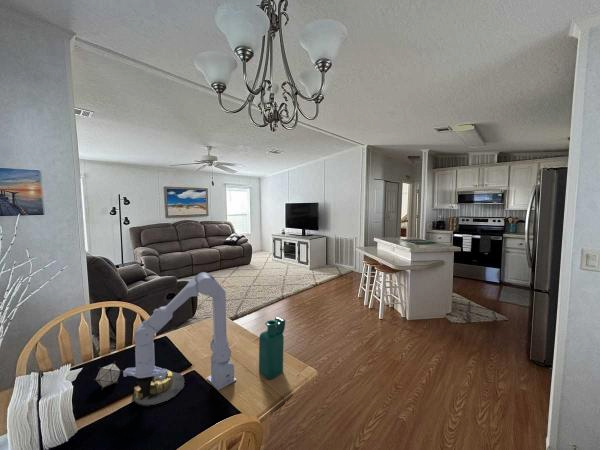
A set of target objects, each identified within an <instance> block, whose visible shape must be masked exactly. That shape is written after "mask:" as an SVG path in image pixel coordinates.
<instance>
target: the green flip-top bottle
mask: <svg viewBox="0 0 600 450" xmlns="http://www.w3.org/2000/svg"><path fill="white" fill-rule="evenodd" d="M265 326H266V327H267V329H266V330H265V331H263V332H261V333H260V335H259V336H258V372H259V374H260V375H262V376H263V377H264V378H265V379H267V380H273V379H275V378H276V377H278V376H280V375H282V374H283V372H284V349H285V348H284V347H285V346H284V343H285V341H284V338H285V336H284V332H285V328H286V320H285V319H283V318H282V317H279V316H275V317H274V319H273V320H272V319H270V320H267V321H266V322H265Z"/></svg>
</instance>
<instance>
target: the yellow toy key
mask: <svg viewBox="0 0 600 450" xmlns="http://www.w3.org/2000/svg"><path fill="white" fill-rule="evenodd" d="M172 372H173V371H171V370H169V369H167V375H166V380H164V381H162V382H159V381H155V383H154V377H153V379H152V382H151V384H150V392H149V393H152V394H156V393H161V392H163V391H165V390H167V389H169V388H170V387H171V385H172V384H173V373H172ZM135 395H136V398H137V399H140V398H142V397H143V393H142V390H141V388H140V387H138V388H136V389H135Z"/></svg>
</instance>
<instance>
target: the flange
mask: <svg viewBox="0 0 600 450" xmlns="http://www.w3.org/2000/svg"><path fill="white" fill-rule="evenodd" d="M171 372H172V373H173V384H172V385H171V387H170V388H169V389H167V390H165V391H163V392H161V393H156V394H152V393H149V394H148V395H147V396H146V397H142V398H140V399H137V398H136V395H135V389H136V388H138V387H139V385H138V384H137V386H135V387H133V389H134V391H133V397H132V398H133V401H134V403H135V404H137V405H138V406H141V405H142V406H141V407H151V406H150V405H155V406H157V405H156V404H159V403H162V402H165V401H167V402H169V401H171V400H172V399H171V398H173V397H174V398H176V397H177V396H178V395H179V394H180V393H181V392H182V391H181V390H183V389H184V387H185V384H184V383H185V377H184V376H183V374H181V373H179V372H175V371H171ZM164 380H166V377H165V378H162V377H160V376H154V383H155V381H159V382H162V381H164ZM180 391H181V392H180ZM179 392H180V393H179ZM178 393H179V394H178ZM177 394H178V395H177ZM176 395H177V396H176ZM174 398H173V399H174ZM170 399H171V400H170ZM168 400H169V401H168ZM165 403H166V402H165ZM162 404H163V403H162ZM159 405H160V404H159Z"/></svg>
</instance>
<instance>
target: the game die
mask: <svg viewBox="0 0 600 450" xmlns="http://www.w3.org/2000/svg"><path fill="white" fill-rule="evenodd" d="M98 369H99V371H98V372H97V376H96V377H95V378H94V379H93V381H96V382H97V383H98V385H99V386H100V387H101V391H103V390H104V388H105V387H108V386H110V385H113V384H119V381H118V379H119V376H120V374H121V373H123V371H124V369H120V368H119V366H117V365H116V360H114V361H113V362H112V363H110V364H107V365H105V366H103V367H100V366H98Z"/></svg>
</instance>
